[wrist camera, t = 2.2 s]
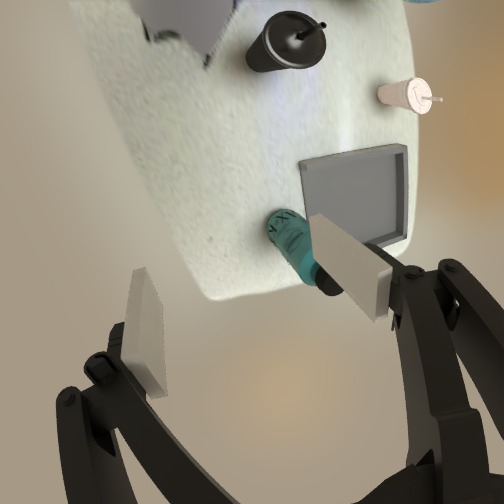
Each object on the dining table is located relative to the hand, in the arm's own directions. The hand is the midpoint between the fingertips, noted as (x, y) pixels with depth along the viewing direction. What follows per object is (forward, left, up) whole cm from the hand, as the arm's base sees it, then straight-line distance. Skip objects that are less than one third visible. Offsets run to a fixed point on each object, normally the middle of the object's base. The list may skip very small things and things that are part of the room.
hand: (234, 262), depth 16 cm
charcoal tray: (+13, +28, -31) cm, 43 cm away
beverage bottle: (+13, +12, -31) cm, 35 cm away
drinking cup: (-15, +14, -31) cm, 37 cm away
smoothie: (-7, +37, -31) cm, 49 cm away
